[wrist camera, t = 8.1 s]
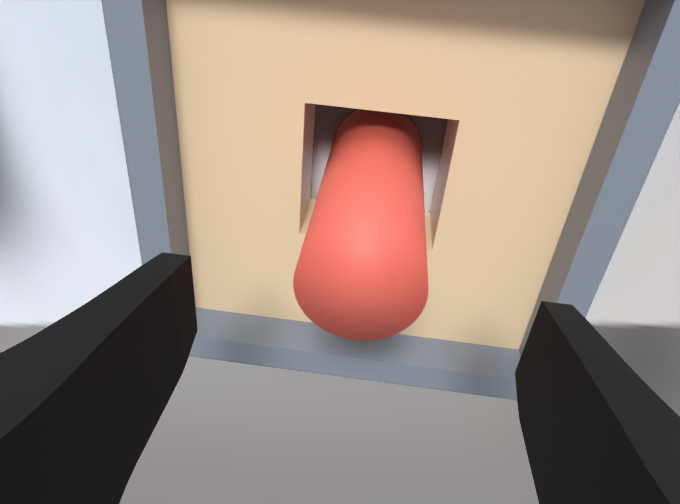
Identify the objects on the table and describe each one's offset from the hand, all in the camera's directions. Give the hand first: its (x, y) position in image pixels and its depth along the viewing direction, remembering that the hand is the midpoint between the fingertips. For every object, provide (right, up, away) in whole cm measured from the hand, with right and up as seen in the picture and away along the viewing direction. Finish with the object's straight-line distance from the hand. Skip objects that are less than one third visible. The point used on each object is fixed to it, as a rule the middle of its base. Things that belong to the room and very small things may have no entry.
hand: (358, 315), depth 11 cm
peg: (+1, +5, +7) cm, 9 cm away
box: (+1, +5, +7) cm, 9 cm away
